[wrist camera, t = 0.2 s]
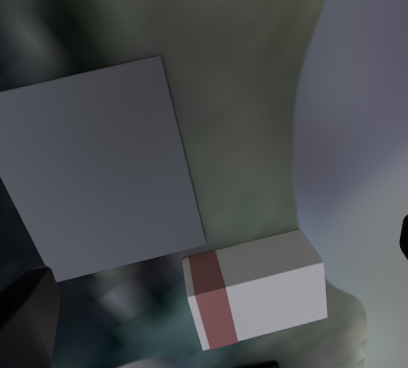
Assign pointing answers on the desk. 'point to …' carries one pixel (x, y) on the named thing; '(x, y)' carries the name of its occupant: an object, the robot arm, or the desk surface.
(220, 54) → the desk surface
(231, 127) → the desk surface
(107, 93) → the desk mat
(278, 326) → the card deck box
